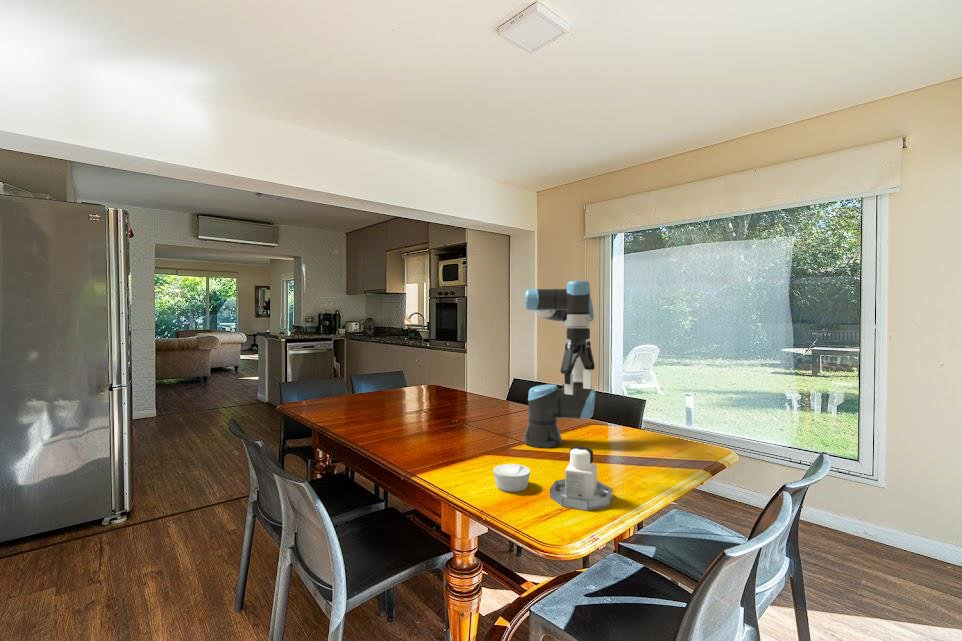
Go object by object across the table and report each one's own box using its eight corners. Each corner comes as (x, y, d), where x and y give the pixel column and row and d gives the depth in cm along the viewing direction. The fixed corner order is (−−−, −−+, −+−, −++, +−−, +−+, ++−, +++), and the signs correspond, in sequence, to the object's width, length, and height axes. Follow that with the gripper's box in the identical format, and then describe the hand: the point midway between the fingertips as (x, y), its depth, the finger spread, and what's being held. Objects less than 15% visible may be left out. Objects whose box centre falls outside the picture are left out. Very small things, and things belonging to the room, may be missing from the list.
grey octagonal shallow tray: (545, 503, 125) (545, 494, 125) (559, 483, 141) (559, 475, 141) (606, 513, 119) (606, 504, 119) (614, 491, 134) (614, 483, 134)
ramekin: (536, 491, 134) (536, 473, 134) (500, 495, 131) (500, 477, 131) (522, 478, 145) (522, 462, 145) (488, 482, 142) (488, 465, 142)
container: (570, 486, 135) (570, 443, 135) (597, 490, 132) (597, 446, 132) (564, 496, 128) (564, 450, 128) (592, 500, 125) (592, 453, 125)
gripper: (571, 328, 138) (571, 398, 139) (604, 326, 158) (604, 387, 158) (549, 328, 143) (549, 395, 143) (584, 326, 162) (584, 385, 163)
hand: (578, 391), depth 151 cm, fingers open, 13 cm apart
